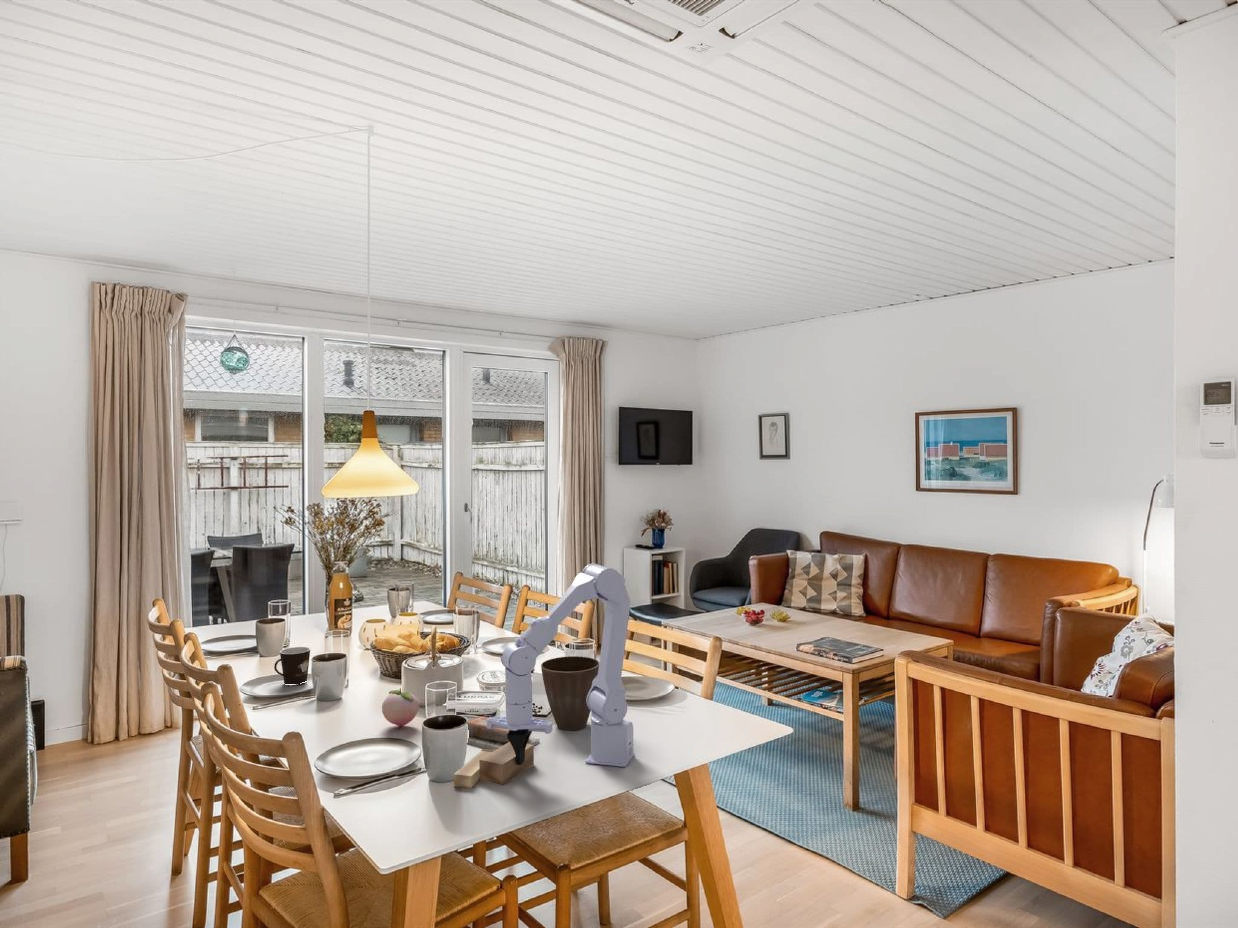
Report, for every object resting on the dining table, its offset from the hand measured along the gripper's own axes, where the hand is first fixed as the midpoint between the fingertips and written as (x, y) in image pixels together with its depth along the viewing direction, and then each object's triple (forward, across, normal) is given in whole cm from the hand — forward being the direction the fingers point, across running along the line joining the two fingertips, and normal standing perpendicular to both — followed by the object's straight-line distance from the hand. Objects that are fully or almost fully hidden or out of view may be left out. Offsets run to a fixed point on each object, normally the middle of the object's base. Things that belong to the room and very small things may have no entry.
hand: (520, 763), depth 167 cm
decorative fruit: (+3, -42, +20) cm, 46 cm away
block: (+3, -4, +1) cm, 5 cm away
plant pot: (+3, 0, +32) cm, 32 cm away
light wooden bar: (+3, -10, -1) cm, 10 cm away
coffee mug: (+2, -95, +45) cm, 105 cm away
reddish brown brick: (+3, -13, +17) cm, 22 cm away
